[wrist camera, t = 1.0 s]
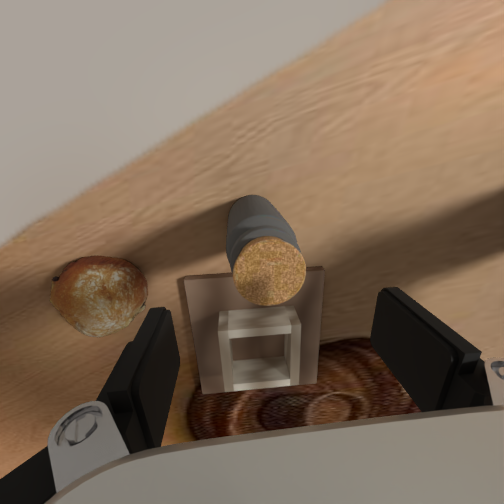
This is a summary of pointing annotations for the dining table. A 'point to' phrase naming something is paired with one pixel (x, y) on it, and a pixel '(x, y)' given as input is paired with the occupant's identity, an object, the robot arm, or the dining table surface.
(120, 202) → the dining table surface
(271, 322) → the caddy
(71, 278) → the bread roll
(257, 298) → the bottle
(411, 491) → the robot arm
